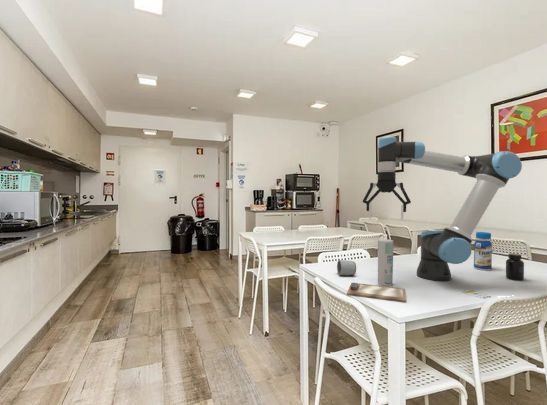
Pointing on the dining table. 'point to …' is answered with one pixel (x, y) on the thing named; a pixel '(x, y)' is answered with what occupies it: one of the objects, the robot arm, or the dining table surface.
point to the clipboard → (377, 292)
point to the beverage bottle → (483, 251)
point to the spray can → (385, 262)
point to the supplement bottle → (515, 267)
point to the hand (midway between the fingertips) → (385, 219)
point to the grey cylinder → (346, 267)
